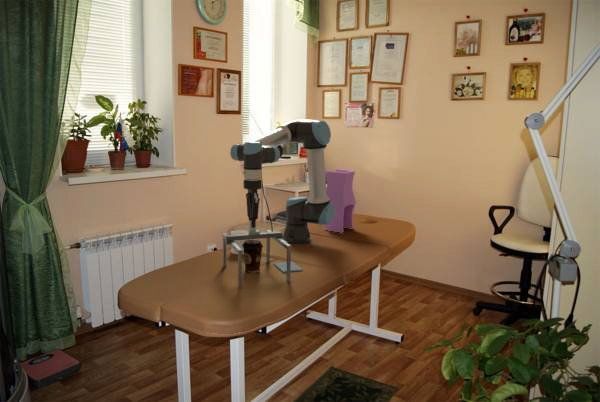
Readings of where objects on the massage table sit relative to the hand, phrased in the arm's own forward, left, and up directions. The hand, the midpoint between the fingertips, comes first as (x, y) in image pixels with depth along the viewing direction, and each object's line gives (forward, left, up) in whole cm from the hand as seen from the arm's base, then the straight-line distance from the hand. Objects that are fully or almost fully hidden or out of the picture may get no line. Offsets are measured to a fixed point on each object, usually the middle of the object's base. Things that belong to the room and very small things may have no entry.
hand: (252, 234), depth 204 cm
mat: (0, +16, -16) cm, 23 cm away
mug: (-28, +3, -16) cm, 32 cm away
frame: (+4, 0, -16) cm, 17 cm away
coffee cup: (-1, 0, -16) cm, 16 cm away
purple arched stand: (-58, +69, -16) cm, 91 cm away
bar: (+2, 0, -3) cm, 3 cm away
